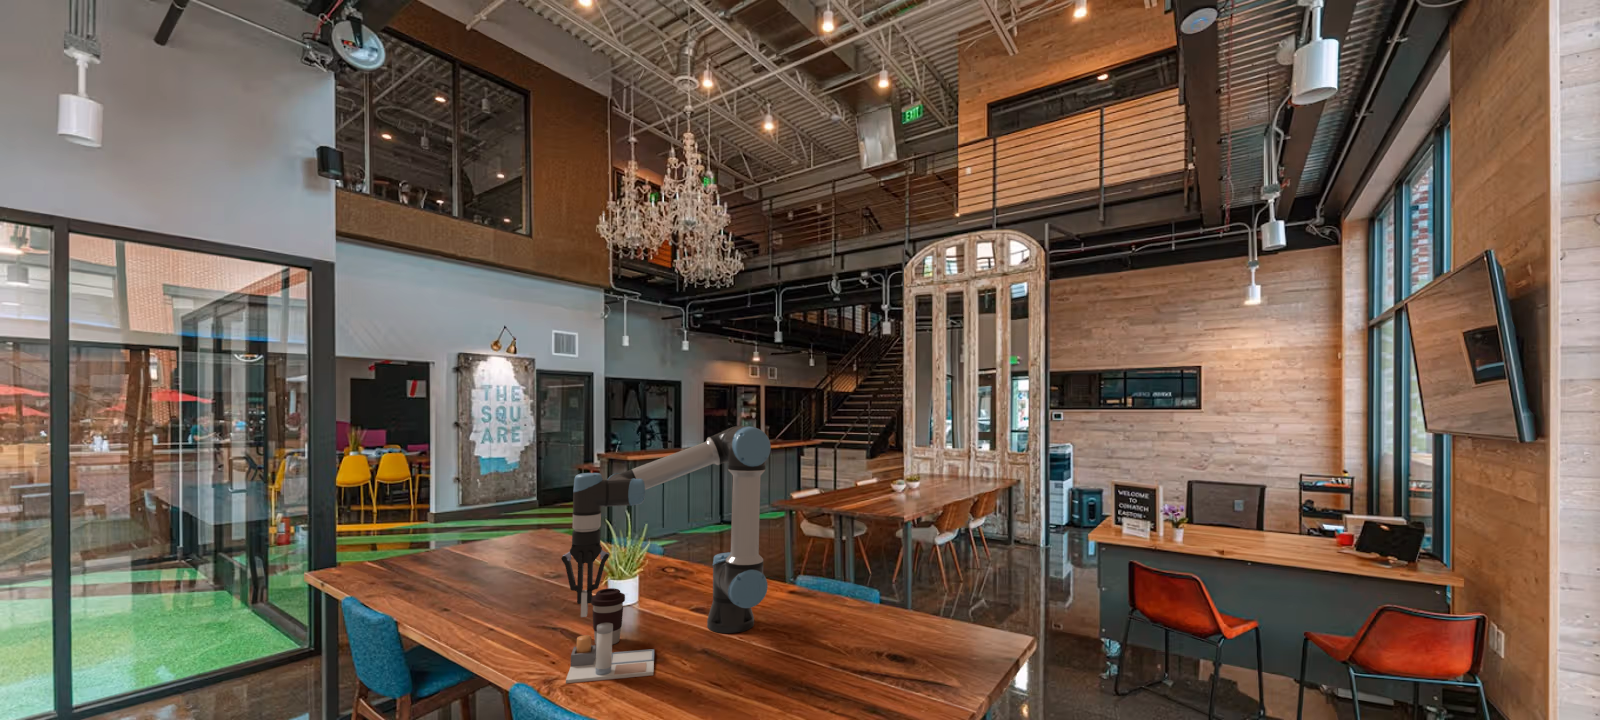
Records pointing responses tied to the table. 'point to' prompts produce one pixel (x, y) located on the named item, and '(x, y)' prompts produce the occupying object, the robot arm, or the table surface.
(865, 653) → the table surface
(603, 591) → the coffee cup
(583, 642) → the button
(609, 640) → the cylinder
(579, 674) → the sheet board
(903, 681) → the table surface
